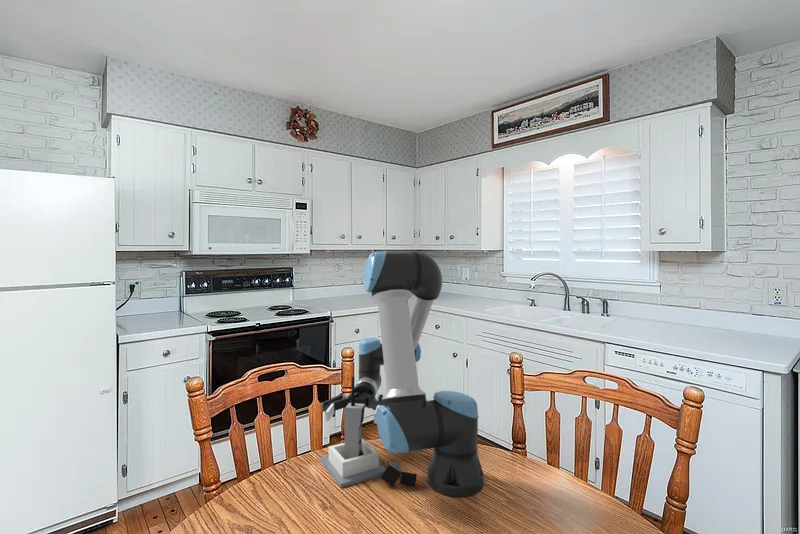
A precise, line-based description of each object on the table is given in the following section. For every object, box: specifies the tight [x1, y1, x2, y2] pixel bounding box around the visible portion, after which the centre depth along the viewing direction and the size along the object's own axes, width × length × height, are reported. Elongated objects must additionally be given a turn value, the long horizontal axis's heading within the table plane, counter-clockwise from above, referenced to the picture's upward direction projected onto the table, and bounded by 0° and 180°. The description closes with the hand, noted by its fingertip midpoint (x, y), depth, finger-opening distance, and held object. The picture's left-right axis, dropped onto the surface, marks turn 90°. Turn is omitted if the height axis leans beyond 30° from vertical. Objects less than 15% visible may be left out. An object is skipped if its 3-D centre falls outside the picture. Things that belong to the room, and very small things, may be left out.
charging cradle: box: [319, 438, 386, 488], centre depth 116 cm, size 16×14×5 cm
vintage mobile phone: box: [344, 376, 366, 460], centre depth 116 cm, size 4×5×25 cm
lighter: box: [379, 460, 418, 488], centre depth 108 cm, size 9×2×6 cm
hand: (350, 417), depth 113 cm, fingers open, 13 cm apart
